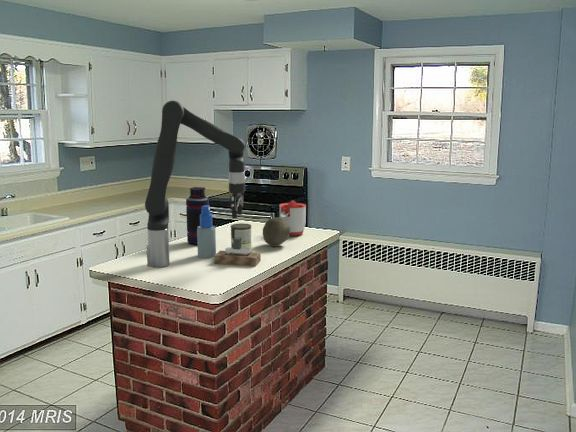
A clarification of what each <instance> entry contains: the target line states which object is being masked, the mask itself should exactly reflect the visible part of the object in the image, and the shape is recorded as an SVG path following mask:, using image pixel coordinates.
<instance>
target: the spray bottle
mask: <svg viewBox="0 0 576 432" xmlns="http://www.w3.org/2000/svg"><path fill="white" fill-rule="evenodd" d="M210 207H211V206H210V204H209V205H204V206H202V211H201V214H200V226H198V227H197V257H198V258H200V259H211V258H212V259H214V255H215V254H217V244H216V243H217V242H216V241H217V239H216V237H217V236H216V235H217V233H216V226H215V225H213V214H212V213H211V209H210Z"/></svg>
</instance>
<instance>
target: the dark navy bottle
mask: <svg viewBox="0 0 576 432" xmlns="http://www.w3.org/2000/svg"><path fill="white" fill-rule="evenodd" d="M206 192H207V194H208V196H207V195H206ZM189 193H190V195H189V197H187V198H185V205H186V207H185V208H186V209H185V213H186V232H187V233H186V234H187V236H186V239H187V243H188V245H191V244H197V227H198V226H200V214H201V211H202V206H204V205H209V206H210V201H209V196H210V193H209V191H208V190H207V189H206V187H204V186H203V187H202V186H201V187H200V186H192V187H190V188H189ZM197 245H198V244H197Z"/></svg>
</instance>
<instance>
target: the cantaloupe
mask: <svg viewBox="0 0 576 432" xmlns="http://www.w3.org/2000/svg"><path fill="white" fill-rule="evenodd" d="M289 234H290V227H289V224H288V223H287V222H286V221H285V220H284V219H282V218H280V217H278V216H276V217H271V218H269V219H267V221H266V222H265V223H264V226H263V228H262V236H263V240H264V242H265V243H266V244H268V245H269V246H271V247H278V246H281V245H282V244H284V243H285V242H286V240H288V238H289V236H290V235H289Z"/></svg>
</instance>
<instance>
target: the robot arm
mask: <svg viewBox="0 0 576 432" xmlns="http://www.w3.org/2000/svg"><path fill="white" fill-rule="evenodd" d="M161 114H162V115H161V123H160V124H161V126H160V133H159V136H158V138H157V141H156V146H155V149H154V150H155V151H154V155H153V161H152V169H151V177H150V184H149V188H148V192H147V195H146V199H145V202H144V208H145V211H146V212H147V213H148V219H147V220H148V221H147V224H146V225H147V229H146V230H147V243H148V245H146V260H147V261H146V262H147V263H146V265H147V267H151V268H165V267H166V268H167V267H168V266H170V264H171V262H170V243H169V242H170V239H169V238H170V237H169V223H170V222H169V220H170V209H169V207H170V206H169V205H170V204H169V200H168V197H167V196H166V193H167V189H168V184H169V181H170V179H171V177H172V173H173V170H174V167H175V164H176V157H177V150H178V149H177V148H178V133H179V130H180V127H181V125H183V126H185V127H187V128H189V129H191V130H193V131H194V132H196V133H198V134H199V135H201V136H202V137H204V138H205V139H207V140H209V141H211V142H212V143H215V144H216V145H219V146H221V147H223V148H224V149H226V150H228V158H229V159H228V192H229V193H232V195H230V197H229V209H230V210H231V219H237V218H238V216H241V215H242V214H243V207H244V204H245V199H244V197H245V196H244V194H245V192H246V175H245V174H246V173H245V161H244V151H245V148H246V144H245V142H244V140H243V139H242V138H239V137H238V136H235V135H233V134H231V133H229V132H228V131H226V130H225V129H223V128H221V127H219V126H218V125H215V124H214V123H212V122H209V121H207V120H205V119H204V118H201V117H200V116H198V115H196V114H194V113H193V112H192V111H190V110H189V109H187V108H186V107H184V106H183V105H182V104H181V103H180V102H179V101H177V100H169V101H167V102H166V103H164V104H163V107H162V110H161Z"/></svg>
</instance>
